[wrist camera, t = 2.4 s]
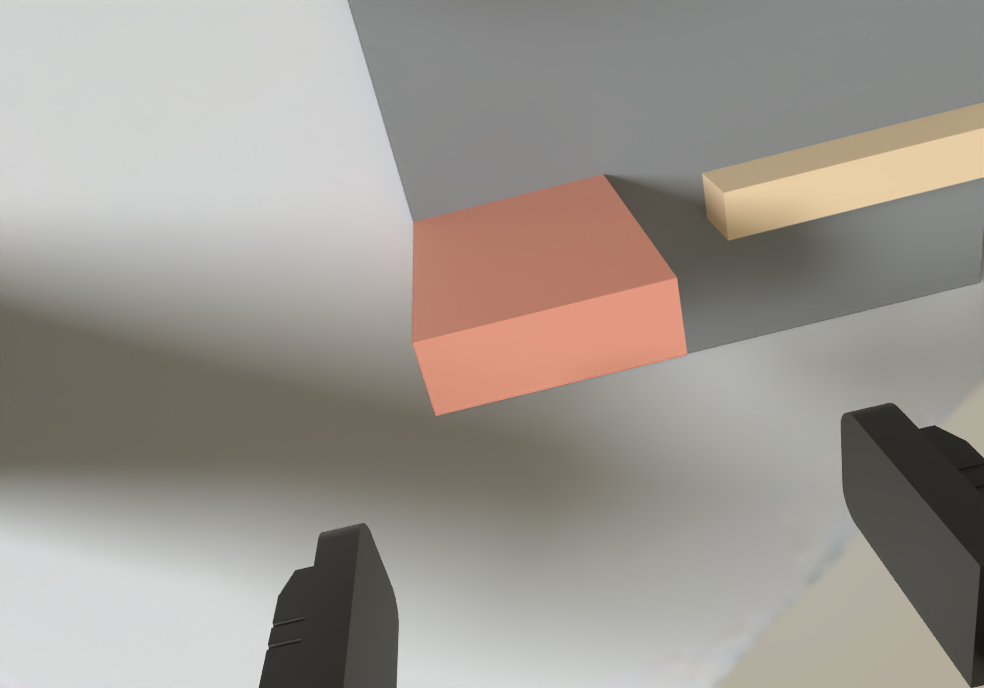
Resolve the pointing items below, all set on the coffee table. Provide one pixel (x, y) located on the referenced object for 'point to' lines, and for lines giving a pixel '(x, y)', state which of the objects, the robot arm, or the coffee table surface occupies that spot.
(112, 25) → the coffee table surface
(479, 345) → the box
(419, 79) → the mat
